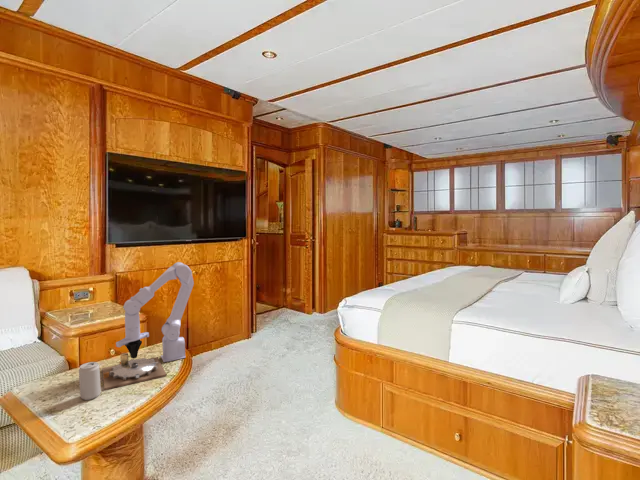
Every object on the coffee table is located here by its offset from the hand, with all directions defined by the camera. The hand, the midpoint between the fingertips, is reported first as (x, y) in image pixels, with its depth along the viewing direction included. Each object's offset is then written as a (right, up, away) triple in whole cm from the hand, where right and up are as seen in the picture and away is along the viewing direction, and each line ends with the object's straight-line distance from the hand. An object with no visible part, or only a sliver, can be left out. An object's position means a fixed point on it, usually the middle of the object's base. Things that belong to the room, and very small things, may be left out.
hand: (133, 357), depth 160 cm
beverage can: (-3, -6, -26) cm, 27 cm away
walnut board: (+4, -4, -7) cm, 9 cm away
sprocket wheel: (+4, -3, -7) cm, 8 cm away
